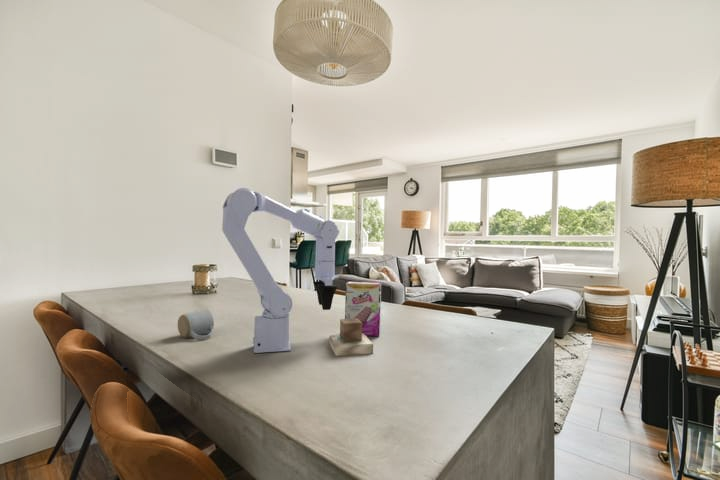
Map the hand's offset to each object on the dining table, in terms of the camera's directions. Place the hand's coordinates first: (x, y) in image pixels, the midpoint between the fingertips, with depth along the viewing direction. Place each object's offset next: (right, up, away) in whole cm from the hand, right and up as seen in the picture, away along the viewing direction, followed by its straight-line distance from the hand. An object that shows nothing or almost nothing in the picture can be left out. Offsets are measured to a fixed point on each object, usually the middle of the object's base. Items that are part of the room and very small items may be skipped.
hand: (324, 307), depth 100 cm
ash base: (+8, -10, -7) cm, 15 cm away
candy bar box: (+11, -10, +7) cm, 17 cm away
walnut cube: (+8, -7, -7) cm, 13 cm away
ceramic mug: (-39, -10, +3) cm, 40 cm away
